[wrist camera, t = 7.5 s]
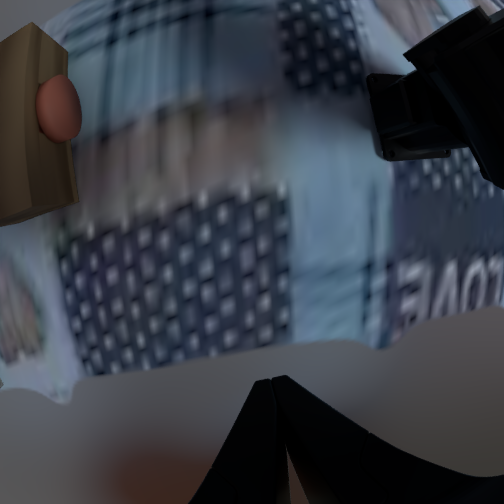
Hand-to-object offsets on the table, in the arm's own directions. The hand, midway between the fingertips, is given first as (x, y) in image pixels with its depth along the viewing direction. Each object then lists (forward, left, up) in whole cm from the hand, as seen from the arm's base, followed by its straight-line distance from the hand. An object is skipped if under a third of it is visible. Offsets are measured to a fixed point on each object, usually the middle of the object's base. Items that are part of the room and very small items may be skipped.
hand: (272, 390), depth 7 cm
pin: (+14, -13, -12) cm, 22 cm away
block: (+13, -13, -12) cm, 22 cm away
